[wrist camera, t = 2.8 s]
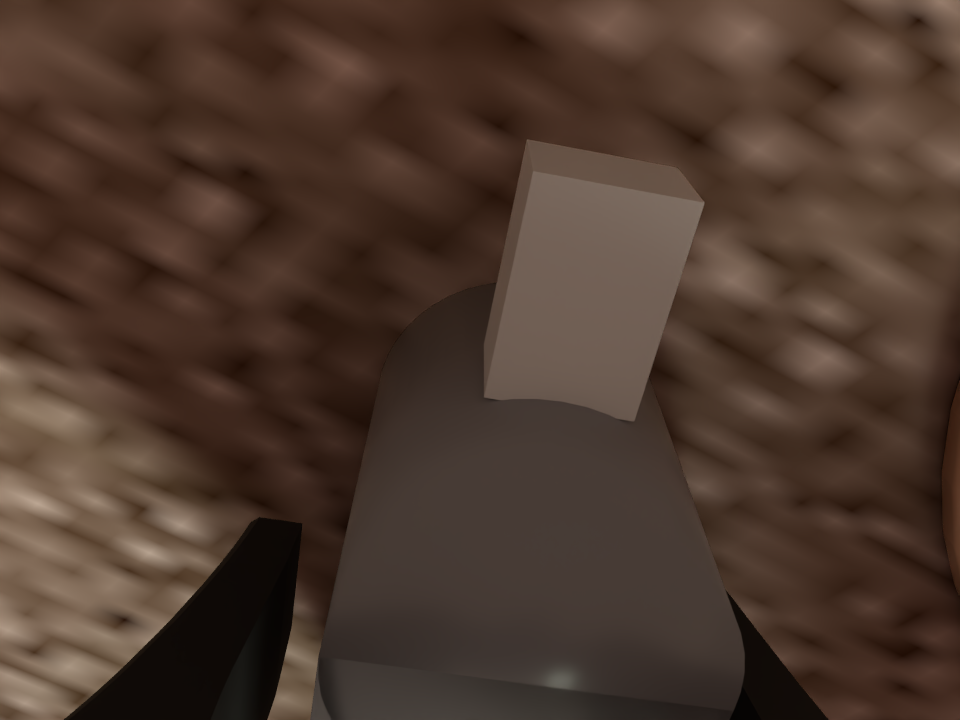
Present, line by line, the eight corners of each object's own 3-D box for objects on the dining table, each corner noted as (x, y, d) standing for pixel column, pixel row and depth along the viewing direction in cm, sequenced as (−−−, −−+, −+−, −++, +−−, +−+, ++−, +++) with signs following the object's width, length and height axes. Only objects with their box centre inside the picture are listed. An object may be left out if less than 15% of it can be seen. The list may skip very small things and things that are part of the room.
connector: (543, 734, 16) (566, 1055, 11) (331, 707, 15) (270, 1028, 11) (738, 143, 10) (927, 311, 6) (422, 84, 10) (375, 216, 6)
